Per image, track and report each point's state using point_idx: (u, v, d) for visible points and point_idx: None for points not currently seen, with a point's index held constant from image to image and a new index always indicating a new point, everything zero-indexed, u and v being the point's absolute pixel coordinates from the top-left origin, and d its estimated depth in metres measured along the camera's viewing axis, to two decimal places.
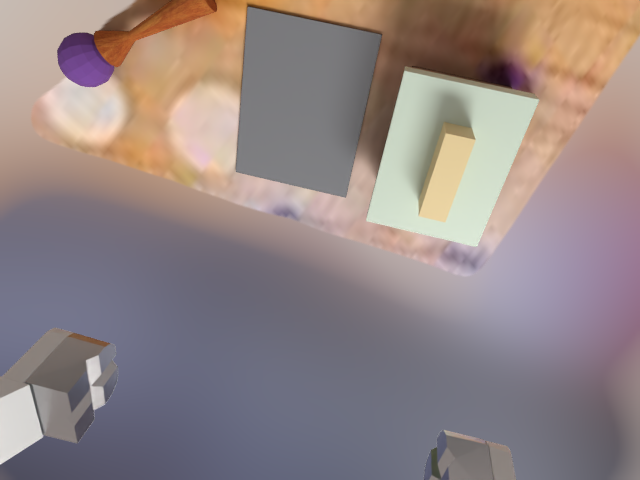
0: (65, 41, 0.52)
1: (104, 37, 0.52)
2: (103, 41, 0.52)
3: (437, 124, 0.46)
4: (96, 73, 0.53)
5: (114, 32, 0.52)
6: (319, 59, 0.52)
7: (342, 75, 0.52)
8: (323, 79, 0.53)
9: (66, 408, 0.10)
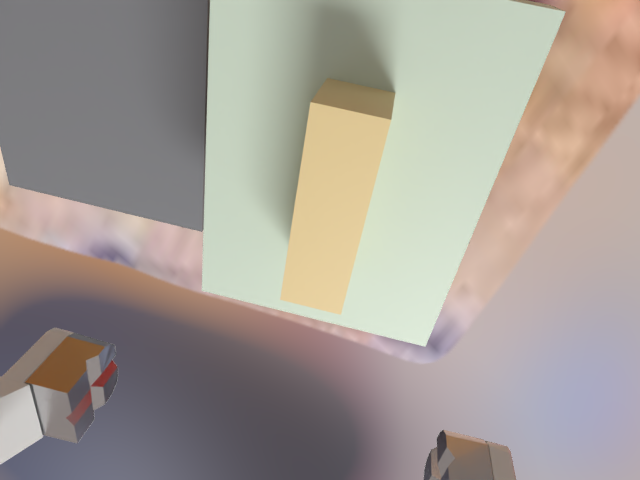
0: None
1: None
2: None
3: (313, 84, 0.19)
4: None
5: None
6: None
7: None
8: (115, 1, 0.26)
9: (66, 408, 0.10)
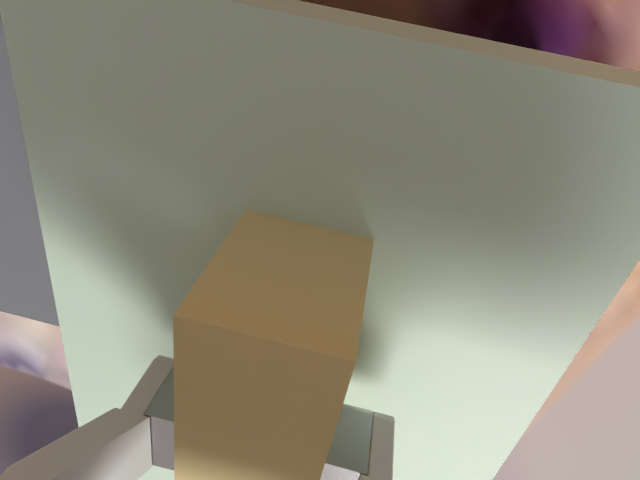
0: None
1: None
2: None
3: (221, 218, 0.10)
4: None
5: None
6: None
7: None
8: None
9: None
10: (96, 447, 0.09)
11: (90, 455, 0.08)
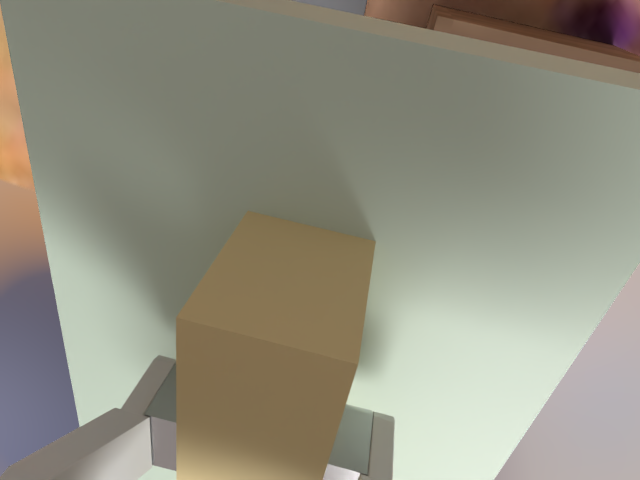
0: None
1: None
2: None
3: (223, 220, 0.10)
4: None
5: None
6: None
7: None
8: None
9: None
10: (96, 447, 0.09)
11: (90, 455, 0.08)
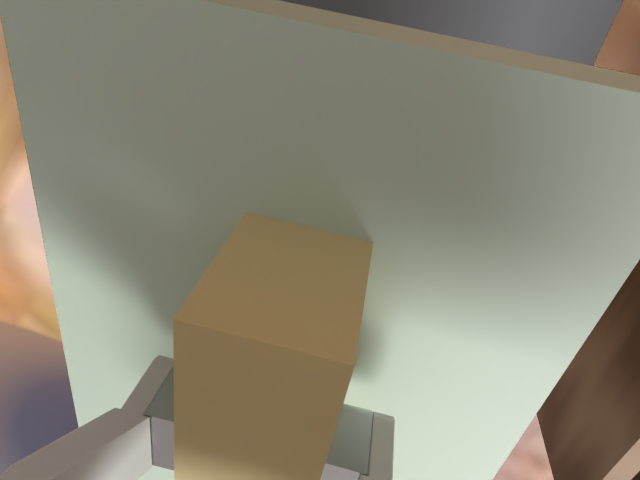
0: None
1: None
2: None
3: (221, 221, 0.10)
4: None
5: None
6: None
7: None
8: None
9: None
10: (96, 447, 0.09)
11: (90, 455, 0.08)
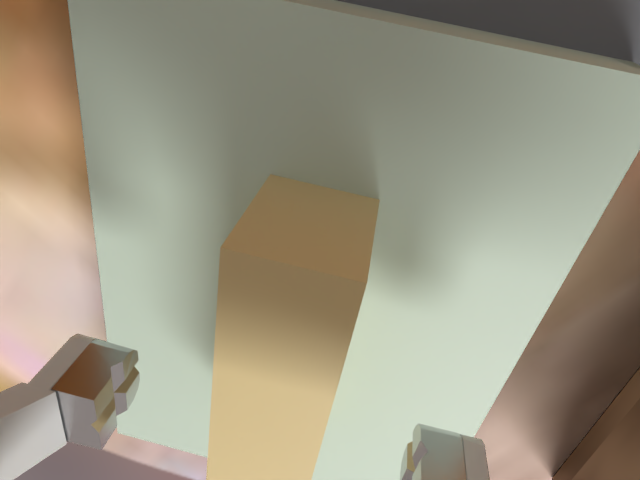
0: None
1: None
2: None
3: (248, 183, 0.12)
4: None
5: None
6: None
7: None
8: None
9: (91, 415, 0.10)
10: None
11: None
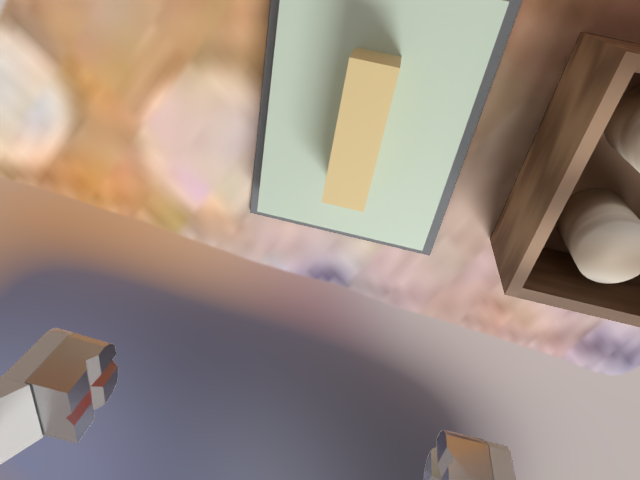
0: None
1: None
2: None
3: (346, 51, 0.28)
4: None
5: None
6: None
7: None
8: None
9: (66, 408, 0.10)
10: None
11: None
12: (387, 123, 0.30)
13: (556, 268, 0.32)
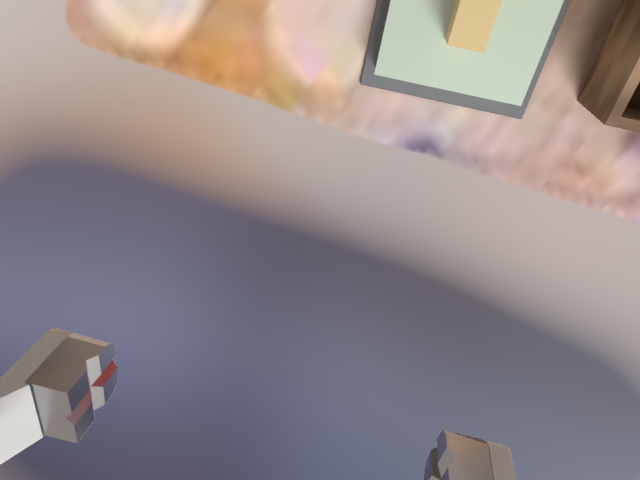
0: None
1: None
2: None
3: None
4: None
5: None
6: None
7: None
8: None
9: (66, 408, 0.10)
10: None
11: None
12: None
13: None
